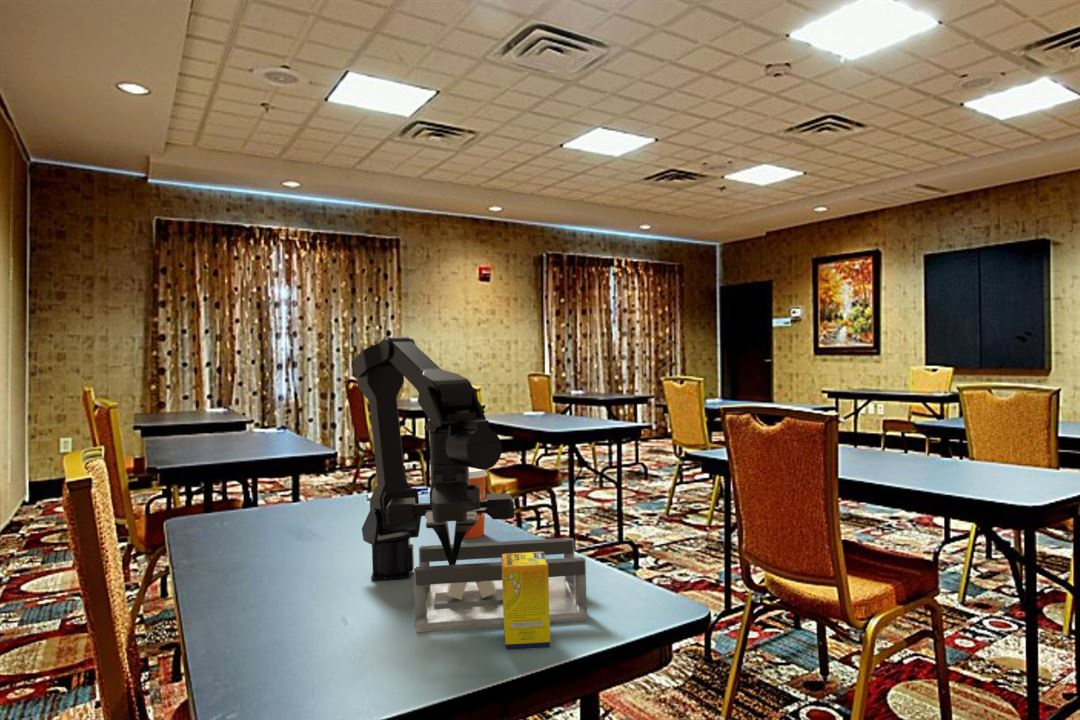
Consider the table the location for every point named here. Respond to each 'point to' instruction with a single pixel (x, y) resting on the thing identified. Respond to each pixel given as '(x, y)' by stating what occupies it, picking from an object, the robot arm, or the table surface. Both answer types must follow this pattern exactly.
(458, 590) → the paddle on
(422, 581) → the gray bar rack
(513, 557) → the supplement box
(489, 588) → the paddle
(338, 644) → the table surface
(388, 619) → the table surface
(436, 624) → the panel
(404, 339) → the robot arm
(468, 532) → the paper cup
